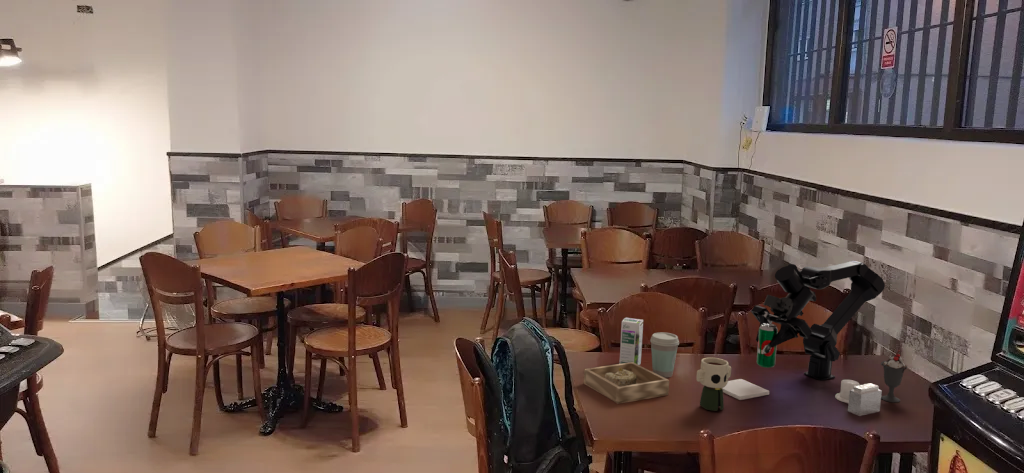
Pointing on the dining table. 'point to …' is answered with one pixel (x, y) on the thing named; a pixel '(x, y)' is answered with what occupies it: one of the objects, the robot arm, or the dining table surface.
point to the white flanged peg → (846, 390)
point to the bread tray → (643, 389)
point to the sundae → (893, 375)
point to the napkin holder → (864, 399)
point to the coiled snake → (621, 377)
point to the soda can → (766, 345)
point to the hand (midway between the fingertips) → (763, 343)
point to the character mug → (713, 382)
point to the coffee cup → (664, 353)
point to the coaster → (743, 389)
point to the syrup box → (631, 341)
